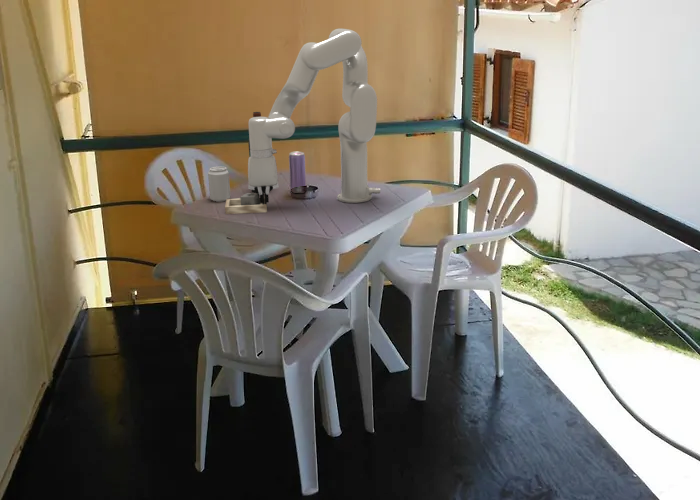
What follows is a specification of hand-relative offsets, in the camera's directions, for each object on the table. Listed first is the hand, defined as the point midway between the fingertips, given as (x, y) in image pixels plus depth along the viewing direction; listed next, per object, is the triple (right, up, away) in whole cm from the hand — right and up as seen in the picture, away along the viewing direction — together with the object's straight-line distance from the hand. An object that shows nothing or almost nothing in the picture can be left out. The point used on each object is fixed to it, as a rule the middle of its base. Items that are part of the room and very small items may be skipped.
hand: (264, 204), depth 256 cm
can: (-18, +2, +12) cm, 22 cm away
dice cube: (-5, -2, 0) cm, 5 cm away
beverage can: (+10, +6, +21) cm, 24 cm away
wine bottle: (-4, +7, +23) cm, 24 cm away
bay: (-6, -2, 0) cm, 7 cm away
